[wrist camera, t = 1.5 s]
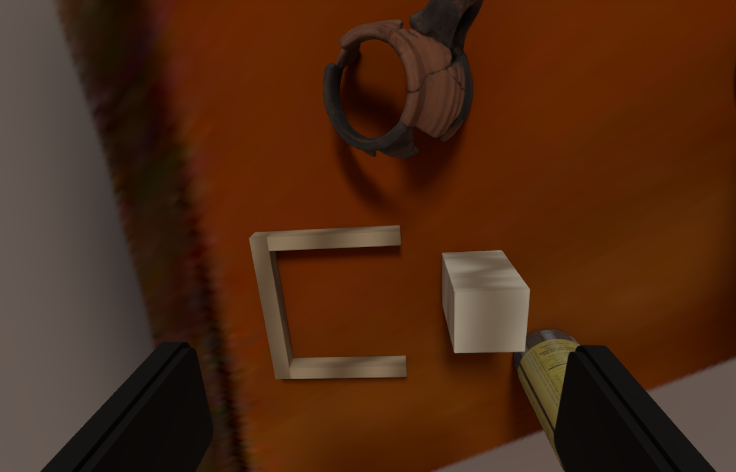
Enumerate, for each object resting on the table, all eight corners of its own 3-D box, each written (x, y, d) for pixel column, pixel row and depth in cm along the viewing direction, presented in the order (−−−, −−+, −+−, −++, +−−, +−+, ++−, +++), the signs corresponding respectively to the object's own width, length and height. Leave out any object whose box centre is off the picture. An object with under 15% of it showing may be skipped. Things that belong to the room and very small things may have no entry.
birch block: (501, 250, 32) (529, 289, 25) (498, 302, 34) (524, 351, 27) (441, 252, 32) (454, 292, 26) (442, 303, 34) (454, 352, 28)
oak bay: (399, 225, 32) (400, 231, 30) (406, 366, 37) (406, 376, 35) (255, 232, 33) (249, 238, 31) (280, 368, 38) (275, 379, 36)
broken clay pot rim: (441, 173, 31) (388, 193, 24) (359, 110, 33) (292, 112, 27) (542, 21, 24) (506, -9, 17) (429, -44, 27) (361, -90, 20)
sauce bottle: (566, 385, 36) (751, 691, 18) (502, 373, 36) (620, 667, 18) (591, 330, 34) (834, 612, 15) (523, 317, 34) (684, 584, 15)
